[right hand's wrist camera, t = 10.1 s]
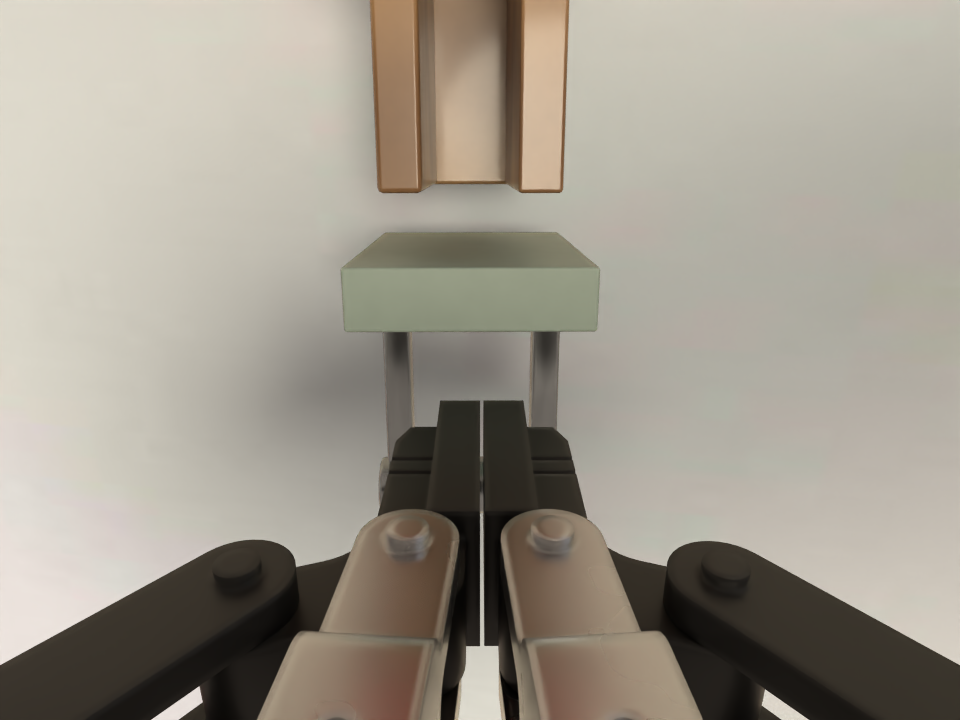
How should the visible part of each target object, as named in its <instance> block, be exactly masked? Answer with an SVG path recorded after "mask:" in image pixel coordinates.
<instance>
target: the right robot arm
mask: <svg viewBox="0 0 960 720" xmlns="http://www.w3.org/2000/svg"><path fill="white" fill-rule="evenodd" d="M483 528H484V646H499V701H500V709H501V717H502V720H781V719H780V718H778V717H777V716H775V715H774V714H773V713H771V712H770V711H768V710H767V709H766V708H764V707H763V706H762V701H763V696H764V691H765V689H766V690H767V691H769V692H770V693H771V694H773V695H774V696H776V697H777V698H779V699H780V700H782V701H783V702H784V703H786V704H787V705H789V706H790V707H792V708H793V709H794V710H796V711H797V712H799V713H800V714H802V715H803V716H804V717H806V718H807V719H809V720H960V665H958V664H957V663H955V662H953V661H951V660H949V659H947V658H946V657H944V656H942V655H940V654H938V653H936V652H935V651H933V650H931V649H929V648H927V647H925V646H924V645H922V644H920V643H918V642H916V641H914V640H913V639H911V638H909V637H907V636H905V635H903V634H902V633H900V632H898V631H896V630H894V629H892V628H891V627H889V626H887V625H885V624H883V623H881V622H880V621H878V620H876V619H874V618H872V617H870V616H869V615H867V614H865V613H863V612H861V611H859V610H858V609H856V608H854V607H852V606H850V605H848V604H847V603H845V602H843V601H841V600H839V599H837V598H836V597H834V596H832V595H830V594H828V593H827V592H825V591H823V590H821V589H819V588H817V587H816V586H814V585H812V584H810V583H808V582H806V581H805V580H803V579H801V578H799V577H797V576H795V575H794V574H792V573H790V572H788V571H786V570H784V569H783V568H781V567H779V566H777V565H775V564H773V563H772V562H770V561H768V560H766V559H764V558H762V557H761V556H759V555H757V554H755V553H753V552H751V551H749V550H747V549H744V548H741V547H739V546H736V545H732V544H728V543H722V542H714V541H700V542H693V543H689V544H686V545H683V546H681V547H679V548H678V549H676V550H675V551H674V552H673V553H672V554H671V555H670V557H669V559H668V562H667V567H666V566H662V565H657V564H652V563H648V562H643V561H639V560H635V559H631V558H628V557H626V556H623V555H621V554H619V553H617V552H614V551H613V550H611V549H609V548H608V547H607V545H606V543H605V540H604V538H603V535H602V533H601V532H600V530H599V529H598V528H597V527H596V526H595V525H594V524H593V523H592V522H591V521H589V520H587V516H586V512H585V508H584V504H583V500H582V496H581V492H580V488H579V484H578V480H577V476H576V474H575V468H574V464H573V460H572V456H571V452H570V448H569V444H568V441H567V440H566V439H565V438H564V437H563V436H562V435H561V434H560V433H559V432H558V431H557V430H555V429H554V428H553V427H527V424H526V417H525V410H524V403H523V401H484V402H483ZM466 646H480V401H440V407H439V415H438V422H437V427H410V428H409V429H408V430H407V431H406V432H405V433H404V434H403V435H402V436H401V437H400V438H399V439H397V440H396V442H395V447H394V451H393V455H392V460H391V463H390V467H389V474H388V476H387V480H386V484H385V488H384V492H383V497H382V501H381V505H380V509H379V513H378V517H376V518H374V519H373V520H371V521H369V522H368V523H367V524H366V525H365V526H364V527H363V528H362V529H361V530H360V532H359V533H358V535H357V538H356V540H355V543H354V545H353V548H352V550H351V552H349V553H347V554H345V555H342V556H340V557H337V558H334V559H331V560H327V561H323V562H318V563H314V564H309V565H304V566H300V567H296V564H295V559H294V557H293V555H292V553H291V552H290V551H289V550H288V549H287V548H285V547H284V546H282V545H280V544H278V543H275V542H271V541H265V540H244V541H238V542H233V543H229V544H226V545H223V546H220V547H217V548H215V549H213V550H211V551H209V552H207V553H205V554H203V555H201V556H199V557H198V558H196V559H194V560H192V561H190V562H188V563H187V564H185V565H183V566H181V567H179V568H177V569H176V570H174V571H172V572H170V573H168V574H166V575H165V576H163V577H161V578H159V579H157V580H155V581H154V582H152V583H150V584H148V585H146V586H144V587H143V588H141V589H139V590H137V591H135V592H134V593H132V594H130V595H128V596H126V597H124V598H123V599H121V600H119V601H117V602H115V603H113V604H112V605H110V606H108V607H106V608H104V609H102V610H101V611H99V612H97V613H95V614H93V615H91V616H90V617H88V618H86V619H84V620H82V621H80V622H79V623H77V624H75V625H73V626H71V627H69V628H68V629H66V630H64V631H62V632H60V633H58V634H57V635H55V636H53V637H51V638H49V639H47V640H46V641H44V642H42V643H40V644H38V645H36V646H35V647H33V648H31V649H29V650H27V651H25V652H24V653H22V654H20V655H18V656H16V657H14V658H13V659H11V660H9V661H7V662H5V663H4V664H2V665H0V720H151V719H153V718H154V717H156V716H157V715H158V714H160V713H161V712H163V711H164V710H166V709H167V708H168V707H170V706H171V705H173V704H174V703H176V702H177V701H179V700H180V699H181V698H183V697H184V696H186V695H187V694H189V693H190V692H191V691H193V690H194V689H196V688H197V687H199V686H200V690H201V695H202V700H203V703H201V704H200V705H199V706H197V707H196V708H194V709H193V710H192V711H190V712H189V713H187V714H186V715H185V716H183V717H182V718H181V719H179V720H458V717H459V709H460V701H461V678H462V676H463V673H464V671H465V665H466Z"/></svg>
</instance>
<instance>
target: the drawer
mask: <svg viewBox="0 0 960 720" xmlns="http://www.w3.org/2000/svg"><path fill="white" fill-rule="evenodd" d="M370 17H371V41H372V66H373V90H374V114H375V139H376V163H377V187H378V190H379V192H382V193H419V192H421V191H423V190H424V189H426V188H428V187H430V186H432V185H433V184H508V185H509V186H511V187H512V188H514V189H516V190H517V191H519V192H521V193H560V192H562V190H563V176H564V145H565V115H566V84H567V53H568V22H569V0H370ZM599 281H600V268H599V267H598V266H597V265H596V264H594V263H593V262H592V261H591V260H590V259H588V258H587V257H586V256H585V255H584V254H582V253H581V252H580V251H579V250H578V249H576V248H575V247H574V246H573V245H572V244H570V243H569V242H568V241H567V240H566V239H564V238H563V237H562V236H561V235H560V234H558V233H557V232H476V233H385V234H383V235H382V236H381V237H380V238H378V239H377V240H376V241H375V242H373V243H372V244H371V245H370V246H368V247H367V248H366V249H365V250H363V251H362V252H361V253H360V254H358V255H357V256H356V257H355V258H354V259H352V260H351V261H350V262H349V263H347V264H346V265H345V266H344V267H342V268H341V283H342V300H343V318H344V330H345V332H383V348H384V372H385V396H386V420H387V445H388V457H384V458H383V459H382V461H381V465H380V472H379V505H381V501H382V497H383V492H384V488H385V484H386V480H387V476H388V474H389V467H390V463H391V460H392V455H393V451H394V447H395V442H396V440H397V439H399V438H400V437H401V436H402V435H403V434H404V433H405V432H406V431H407V430H408V429H409V428H410V427H415V418H414V384H413V349H412V332H531V341H530V389H529V427H553V428H554V429H555V430H556V429H557V399H558V368H559V338H560V332H577V331H596V330H597V322H598V302H599ZM480 513H483V456H480Z"/></svg>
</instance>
